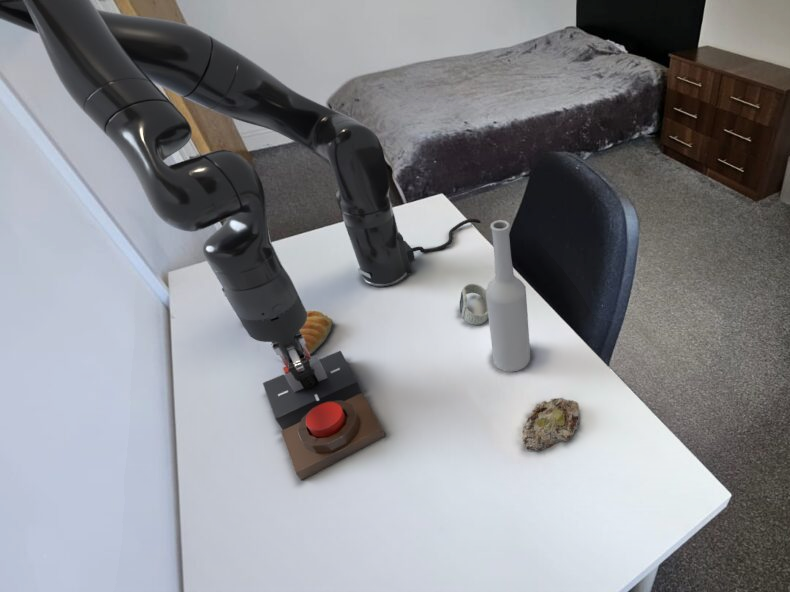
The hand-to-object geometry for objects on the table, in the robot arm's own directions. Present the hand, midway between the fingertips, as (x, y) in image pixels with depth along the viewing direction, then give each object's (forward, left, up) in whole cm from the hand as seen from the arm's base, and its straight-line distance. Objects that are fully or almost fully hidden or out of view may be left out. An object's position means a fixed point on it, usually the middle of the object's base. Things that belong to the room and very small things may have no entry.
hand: (309, 381), depth 75 cm
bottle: (-30, +12, -3) cm, 33 cm away
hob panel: (0, 0, -3) cm, 3 cm away
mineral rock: (-27, +28, -3) cm, 39 cm away
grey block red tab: (0, 0, 0) cm, 0 cm away
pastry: (-3, -14, -3) cm, 15 cm away
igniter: (0, +10, -3) cm, 11 cm away
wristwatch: (-31, -3, -3) cm, 31 cm away
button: (0, +10, 0) cm, 10 cm away
